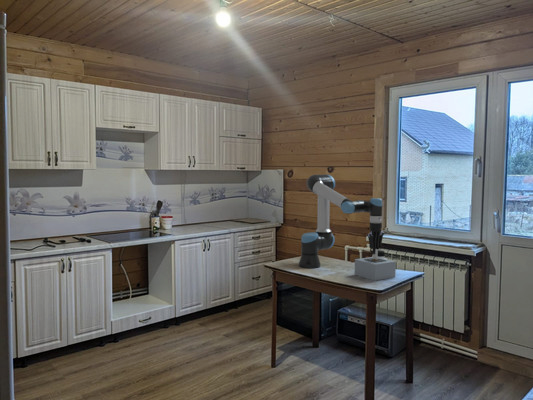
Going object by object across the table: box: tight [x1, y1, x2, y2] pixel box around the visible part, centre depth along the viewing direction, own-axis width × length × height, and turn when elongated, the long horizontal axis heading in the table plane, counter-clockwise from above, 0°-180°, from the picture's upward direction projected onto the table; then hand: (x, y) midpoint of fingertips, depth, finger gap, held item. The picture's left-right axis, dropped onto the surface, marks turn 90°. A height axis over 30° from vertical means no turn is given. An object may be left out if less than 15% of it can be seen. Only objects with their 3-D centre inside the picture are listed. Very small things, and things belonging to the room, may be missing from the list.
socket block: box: [354, 256, 397, 282], centre depth 271 cm, size 18×18×10 cm
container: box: [378, 249, 389, 260], centre depth 289 cm, size 8×8×13 cm
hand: (375, 258), depth 270 cm, fingers closed
